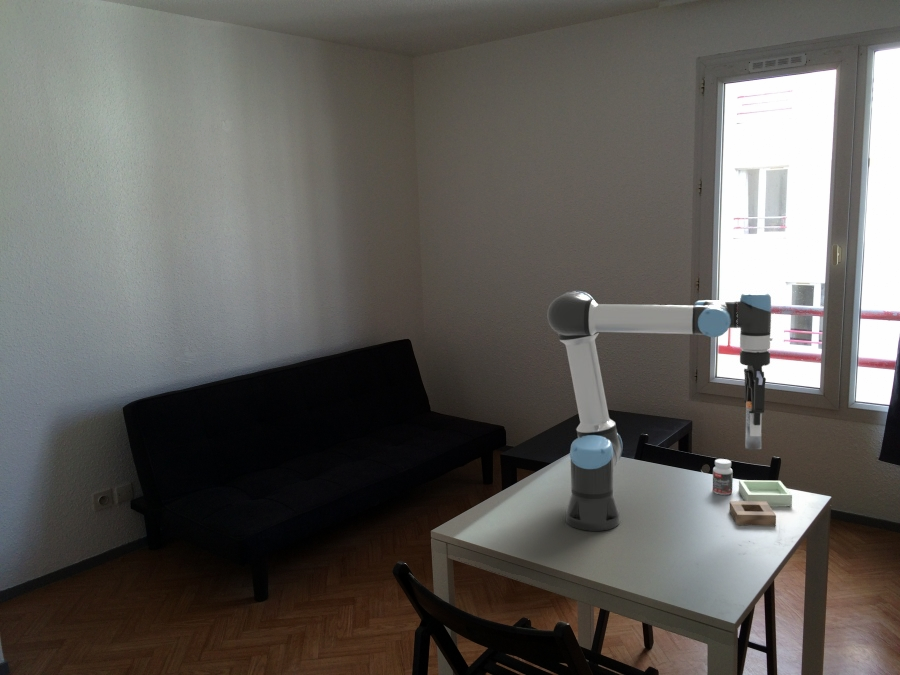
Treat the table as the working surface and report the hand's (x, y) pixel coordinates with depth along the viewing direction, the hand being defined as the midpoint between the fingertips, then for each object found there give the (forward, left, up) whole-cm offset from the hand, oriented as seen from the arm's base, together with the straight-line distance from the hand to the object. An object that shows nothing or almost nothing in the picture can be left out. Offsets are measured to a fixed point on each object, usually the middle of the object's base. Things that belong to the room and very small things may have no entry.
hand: (753, 433), depth 200 cm
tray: (+7, +15, -25) cm, 30 cm away
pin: (0, 0, -4) cm, 4 cm away
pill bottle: (-4, +20, -25) cm, 32 cm away
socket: (0, 0, -25) cm, 25 cm away
